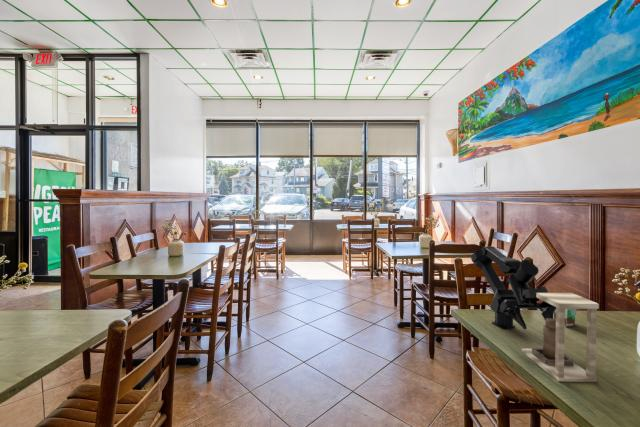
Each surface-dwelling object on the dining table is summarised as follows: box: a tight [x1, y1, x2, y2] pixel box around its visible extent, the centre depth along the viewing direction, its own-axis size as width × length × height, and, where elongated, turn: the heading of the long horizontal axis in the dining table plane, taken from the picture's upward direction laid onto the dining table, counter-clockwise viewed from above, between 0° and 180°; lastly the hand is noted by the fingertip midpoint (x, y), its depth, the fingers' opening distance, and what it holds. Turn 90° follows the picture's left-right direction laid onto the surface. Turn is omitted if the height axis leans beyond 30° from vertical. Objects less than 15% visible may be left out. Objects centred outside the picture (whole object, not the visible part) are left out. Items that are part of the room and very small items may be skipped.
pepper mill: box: [542, 318, 556, 360], centre depth 102 cm, size 4×4×13 cm
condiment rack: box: [521, 292, 600, 383], centre depth 99 cm, size 18×11×24 cm, turn 177°
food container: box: [553, 309, 578, 328], centre depth 132 cm, size 12×6×10 cm, turn 168°
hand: (539, 329), depth 108 cm, fingers open, 9 cm apart
